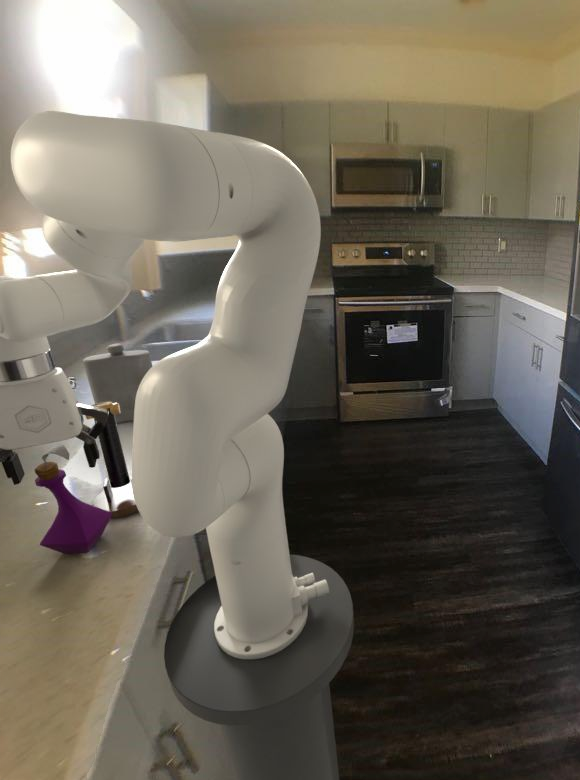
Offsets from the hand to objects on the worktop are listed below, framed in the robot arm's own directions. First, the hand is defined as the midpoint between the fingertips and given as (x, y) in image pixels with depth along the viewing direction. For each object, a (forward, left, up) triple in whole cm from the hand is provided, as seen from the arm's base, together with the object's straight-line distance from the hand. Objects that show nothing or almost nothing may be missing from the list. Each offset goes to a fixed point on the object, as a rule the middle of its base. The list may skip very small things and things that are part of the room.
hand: (57, 471), depth 70 cm
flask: (-6, -52, -14) cm, 54 cm away
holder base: (-6, -10, -14) cm, 18 cm away
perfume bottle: (0, 0, -14) cm, 14 cm away
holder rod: (-6, -13, -3) cm, 15 cm away
